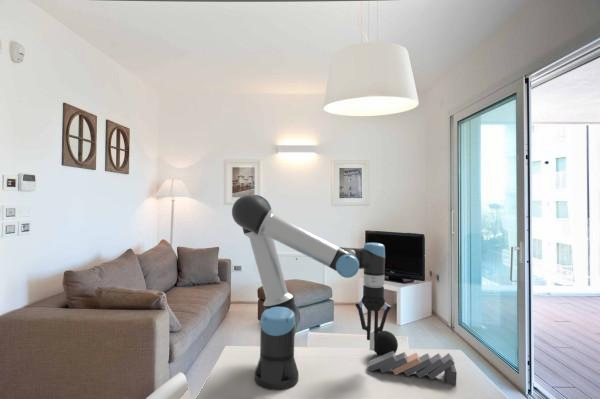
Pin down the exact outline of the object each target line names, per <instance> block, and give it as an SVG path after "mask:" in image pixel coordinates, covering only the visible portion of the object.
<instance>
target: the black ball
mask: <svg viewBox="0 0 600 399" xmlns="http://www.w3.org/2000/svg"><path fill="white" fill-rule="evenodd" d="M398 346H399V344H398V340H397V337H396V336H395V335H394V334H393V333H392V332H390V331H388V330H383V331H382V332H378V339H377V341H374V353H375V354H376V355H377V356H378V357H380V356H382V355H384V354H387V353H389V352H391V351H394V353H395V354H396V353H397V350H398V349H399V348H398Z"/></svg>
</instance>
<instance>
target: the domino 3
mask: <svg viewBox="0 0 600 399" xmlns="http://www.w3.org/2000/svg"><path fill="white" fill-rule="evenodd" d="M420 357H421V356H419V354H418V352H415V353H413V354H411V355H409V356H407V361H408V363H406V364H403V365H401V366H399V367H396V368H394V369H391V371H392V373H393V374H394V375H395V376H396V375H399V374H401V373H403V372H404V371H405V370H407V369H409V368H411V367H413V366H415V365H418V364H420Z"/></svg>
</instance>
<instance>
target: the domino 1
mask: <svg viewBox="0 0 600 399" xmlns="http://www.w3.org/2000/svg"><path fill="white" fill-rule="evenodd" d="M395 361H396V353H394V351H391V352H389V353H387V354H384V355H382V356H377V357H376V358H373V359H371V360H369V361H368V365H367V368H368V370H369V371H370V373H371V372H374V371H376V370H380V368H381V367H383V366H386V365H388V364H391V363H393V362H395Z"/></svg>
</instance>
